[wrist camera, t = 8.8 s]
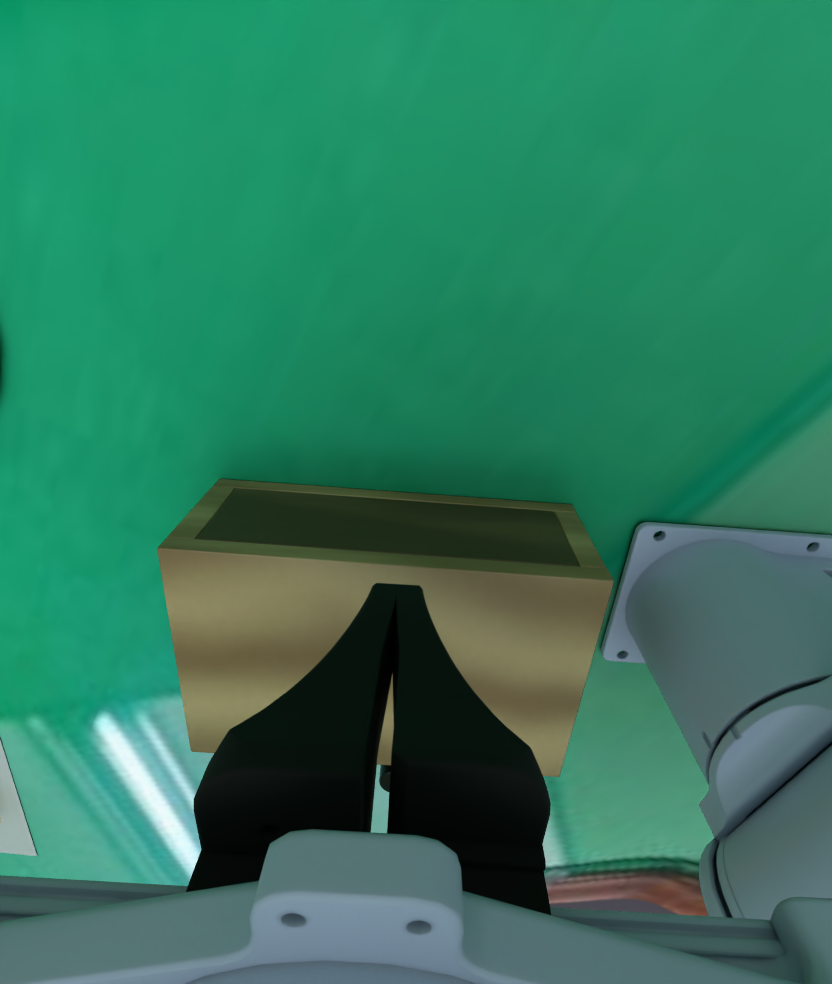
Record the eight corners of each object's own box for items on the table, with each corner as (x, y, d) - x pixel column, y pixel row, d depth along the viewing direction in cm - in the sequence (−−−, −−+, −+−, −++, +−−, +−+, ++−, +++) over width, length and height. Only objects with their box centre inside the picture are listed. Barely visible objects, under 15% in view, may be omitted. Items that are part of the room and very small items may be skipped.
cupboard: (534, 674, 28) (559, 777, 23) (236, 653, 28) (190, 751, 23) (572, 503, 24) (614, 580, 18) (219, 478, 24) (156, 547, 18)
